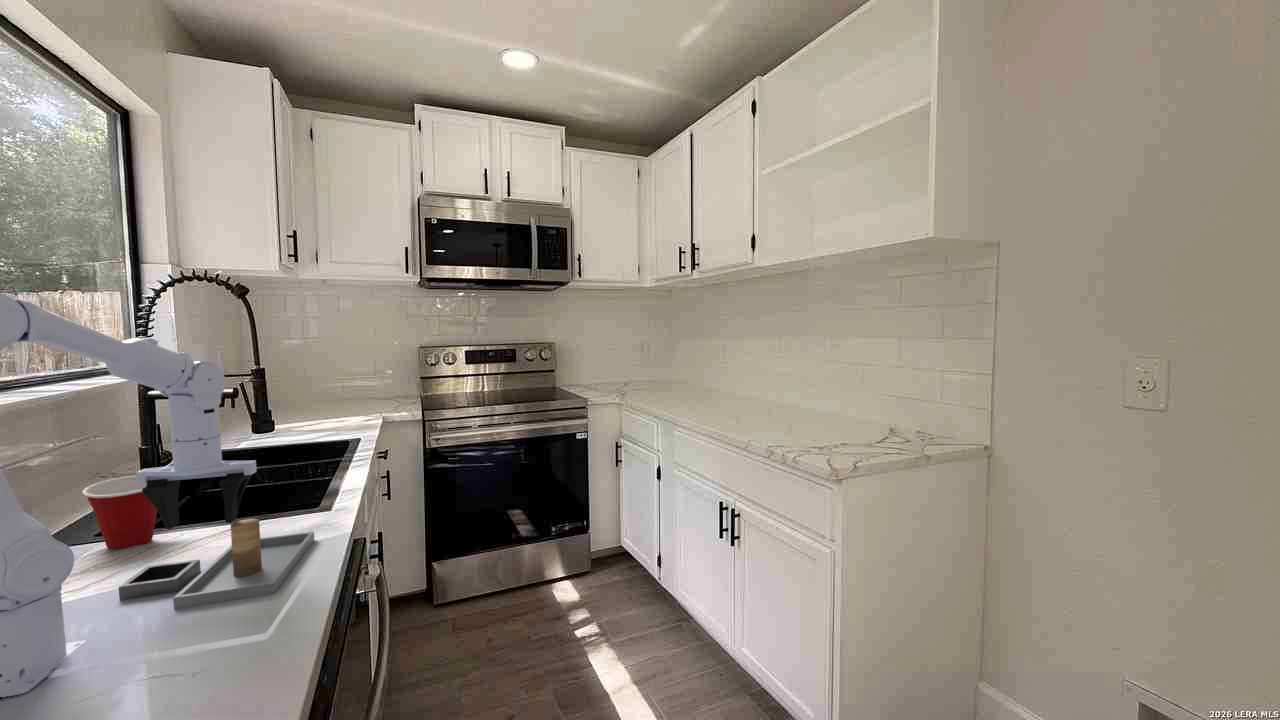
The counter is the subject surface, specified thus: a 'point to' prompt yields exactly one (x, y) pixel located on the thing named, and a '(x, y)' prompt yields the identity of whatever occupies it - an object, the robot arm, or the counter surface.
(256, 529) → the oak dowel
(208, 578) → the slate tray
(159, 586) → the pin holder
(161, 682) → the counter surface
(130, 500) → the plastic cup
